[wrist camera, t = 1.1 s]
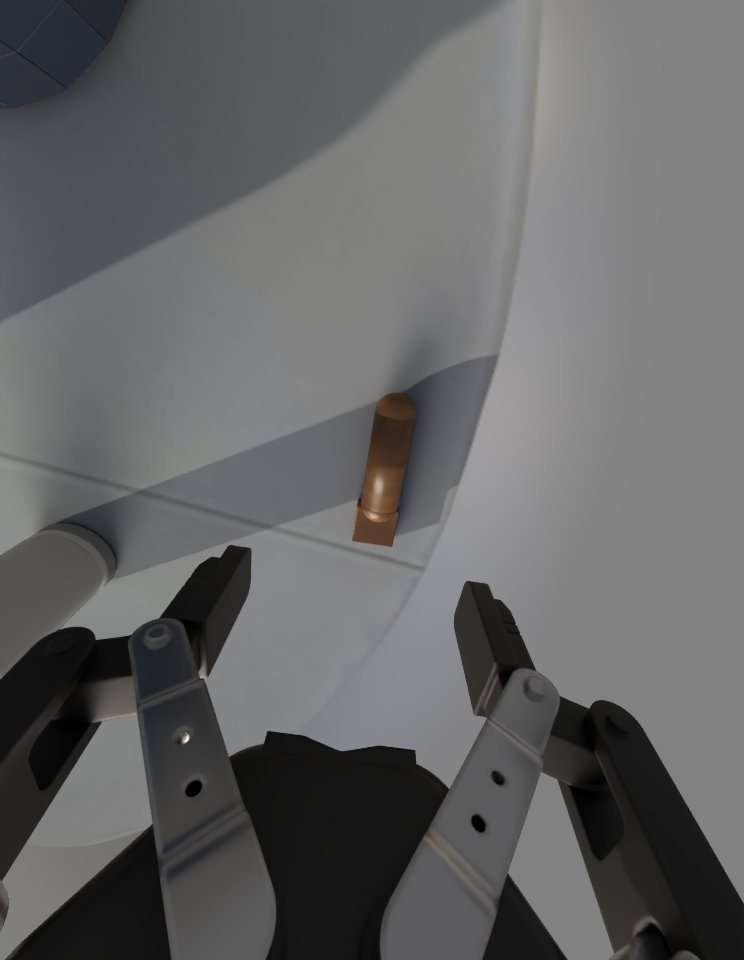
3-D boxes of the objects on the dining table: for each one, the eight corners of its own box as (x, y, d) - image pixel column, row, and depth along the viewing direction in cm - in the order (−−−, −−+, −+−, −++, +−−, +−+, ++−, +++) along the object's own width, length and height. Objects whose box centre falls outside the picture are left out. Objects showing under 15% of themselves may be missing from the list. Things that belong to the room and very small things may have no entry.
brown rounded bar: (375, 385, 23) (374, 393, 21) (421, 392, 24) (426, 401, 21) (353, 532, 28) (350, 552, 26) (391, 538, 28) (392, 558, 26)
